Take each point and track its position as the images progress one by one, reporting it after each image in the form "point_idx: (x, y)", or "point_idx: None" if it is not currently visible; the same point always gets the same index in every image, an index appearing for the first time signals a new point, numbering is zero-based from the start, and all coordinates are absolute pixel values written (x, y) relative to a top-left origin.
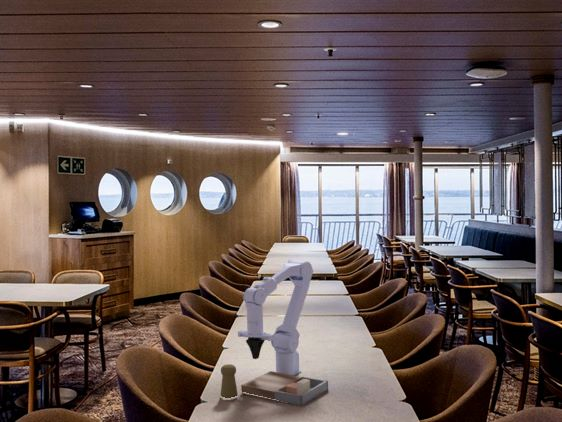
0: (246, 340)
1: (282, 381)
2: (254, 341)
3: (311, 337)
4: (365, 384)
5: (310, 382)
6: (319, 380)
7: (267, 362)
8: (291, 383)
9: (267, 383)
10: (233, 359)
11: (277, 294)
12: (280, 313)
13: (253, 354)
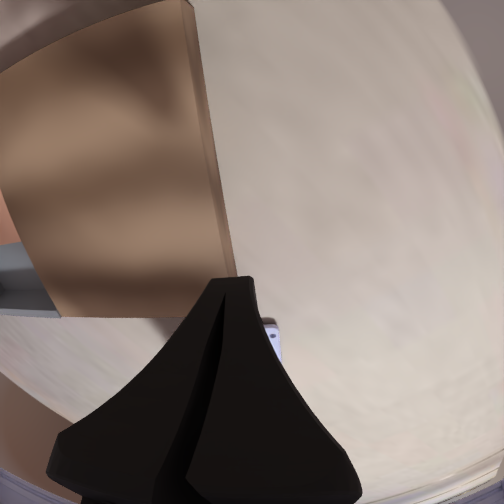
0: (330, 493)
1: (51, 224)
2: (72, 472)
3: (359, 479)
4: (15, 358)
5: (34, 298)
6: (3, 307)
7: (381, 392)
8: (12, 227)
9: (71, 144)
10: (495, 351)
11: (469, 482)
12: (452, 476)
13: (225, 307)
